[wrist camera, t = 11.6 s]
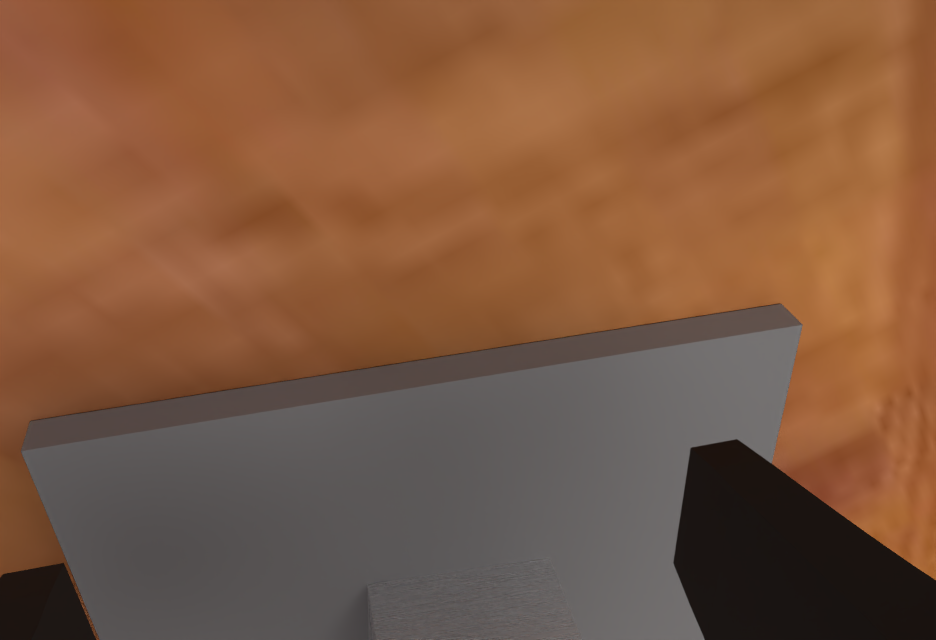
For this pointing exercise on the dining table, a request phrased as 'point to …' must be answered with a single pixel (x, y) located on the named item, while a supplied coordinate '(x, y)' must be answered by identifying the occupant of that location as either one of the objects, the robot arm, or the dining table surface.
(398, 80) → the dining table surface
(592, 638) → the block
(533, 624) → the square socket
